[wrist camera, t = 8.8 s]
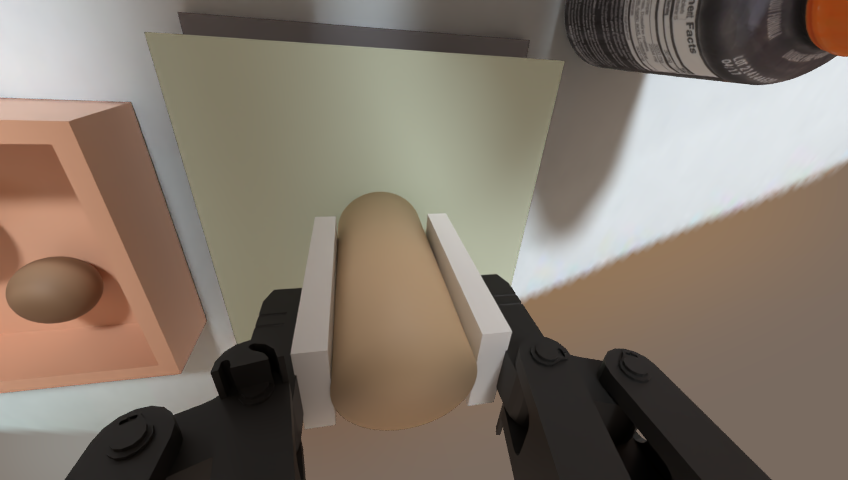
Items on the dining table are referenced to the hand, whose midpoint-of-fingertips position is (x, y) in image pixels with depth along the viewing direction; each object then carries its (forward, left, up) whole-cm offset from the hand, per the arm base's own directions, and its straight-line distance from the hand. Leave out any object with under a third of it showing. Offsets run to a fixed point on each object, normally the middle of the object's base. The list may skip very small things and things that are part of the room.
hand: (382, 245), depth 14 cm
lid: (0, 0, -2) cm, 2 cm away
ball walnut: (+4, -15, -4) cm, 16 cm away
